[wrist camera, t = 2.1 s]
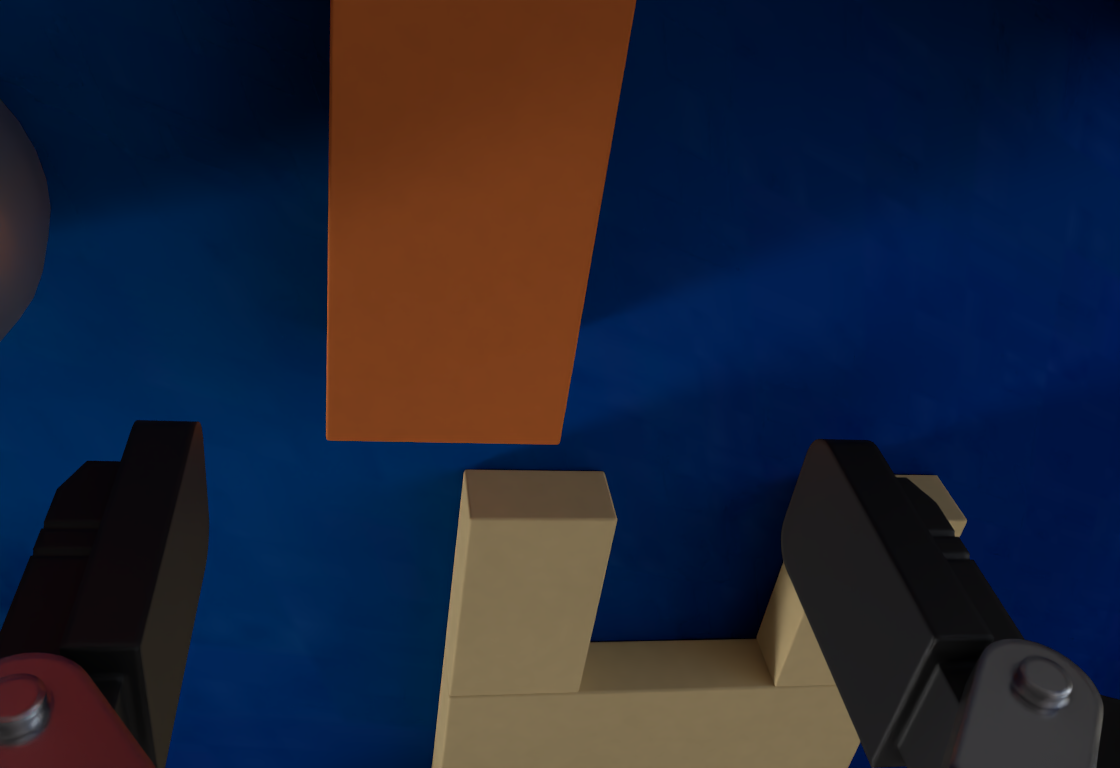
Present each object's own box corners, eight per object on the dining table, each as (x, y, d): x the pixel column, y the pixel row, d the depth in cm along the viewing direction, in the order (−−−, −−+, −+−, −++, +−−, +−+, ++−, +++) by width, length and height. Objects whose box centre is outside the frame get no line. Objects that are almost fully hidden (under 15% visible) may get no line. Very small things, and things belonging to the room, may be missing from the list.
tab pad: (332, 338, 25) (325, 441, 22) (338, -114, 19) (331, -65, 16) (537, 345, 26) (560, 445, 23) (600, -83, 20) (642, -31, 17)
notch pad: (430, 780, 36) (432, 834, 34) (464, 468, 28) (469, 518, 26) (808, 763, 38) (827, 812, 37) (937, 474, 30) (968, 520, 29)
